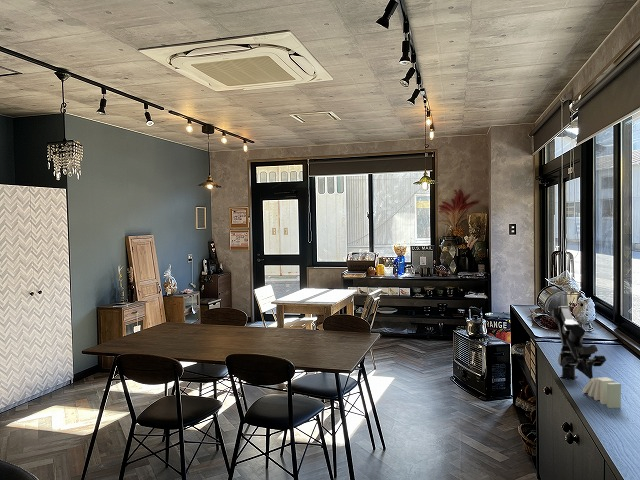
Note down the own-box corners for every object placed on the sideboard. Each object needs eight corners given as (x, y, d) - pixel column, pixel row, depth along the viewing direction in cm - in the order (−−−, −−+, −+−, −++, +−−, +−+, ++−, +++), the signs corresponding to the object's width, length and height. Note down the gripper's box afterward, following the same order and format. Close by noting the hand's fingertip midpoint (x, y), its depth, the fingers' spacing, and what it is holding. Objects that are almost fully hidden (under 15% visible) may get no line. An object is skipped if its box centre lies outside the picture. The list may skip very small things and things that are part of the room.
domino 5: (606, 406, 207) (606, 383, 206) (618, 406, 207) (618, 382, 207) (609, 408, 205) (609, 384, 205) (620, 407, 206) (620, 383, 205)
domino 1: (582, 390, 224) (591, 378, 217) (592, 390, 224) (602, 377, 217) (583, 393, 222) (592, 381, 216) (594, 393, 223) (603, 380, 216)
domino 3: (593, 398, 215) (597, 378, 213) (604, 398, 216) (608, 377, 213) (596, 400, 214) (599, 379, 211) (607, 400, 214) (610, 379, 212)
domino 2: (587, 394, 219) (594, 377, 215) (598, 393, 220) (605, 377, 215) (589, 397, 218) (596, 380, 213) (600, 396, 219) (607, 380, 214)
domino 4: (600, 403, 211) (600, 379, 211) (611, 402, 212) (611, 379, 211) (602, 404, 210) (602, 380, 209) (613, 403, 210) (613, 380, 210)
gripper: (564, 339, 224) (579, 370, 214) (603, 337, 226) (620, 368, 215) (554, 352, 233) (568, 382, 222) (592, 350, 234) (608, 381, 223)
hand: (591, 378), depth 220 cm, fingers closed
